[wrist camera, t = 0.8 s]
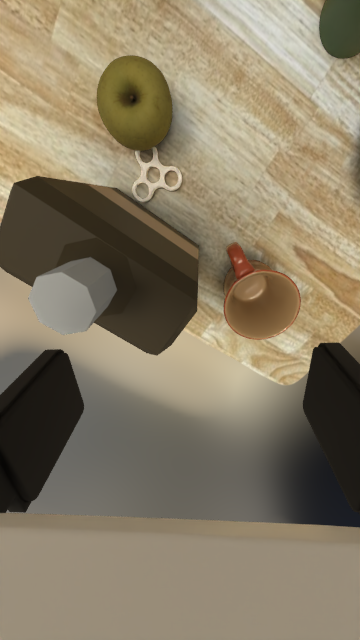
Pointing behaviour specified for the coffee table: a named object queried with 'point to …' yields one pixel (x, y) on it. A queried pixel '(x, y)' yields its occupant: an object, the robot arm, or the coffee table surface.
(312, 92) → the coffee table surface
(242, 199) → the coffee table surface
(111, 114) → the apple
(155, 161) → the fidget spinner
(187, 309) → the bottle
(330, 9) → the sauce bottle
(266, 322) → the mug
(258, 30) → the coffee table surface
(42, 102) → the coffee table surface
